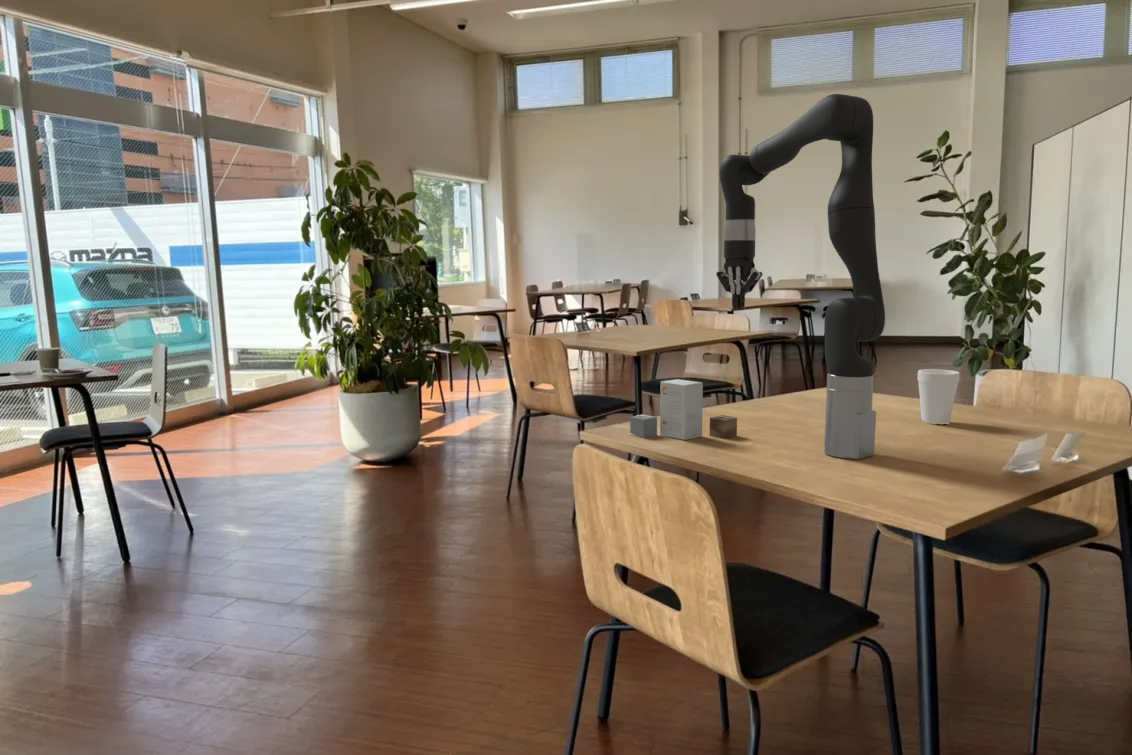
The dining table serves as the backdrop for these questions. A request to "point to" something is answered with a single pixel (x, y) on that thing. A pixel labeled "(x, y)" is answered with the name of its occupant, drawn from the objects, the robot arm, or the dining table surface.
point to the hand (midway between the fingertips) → (738, 309)
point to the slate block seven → (643, 425)
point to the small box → (681, 409)
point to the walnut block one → (723, 426)
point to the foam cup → (937, 394)
